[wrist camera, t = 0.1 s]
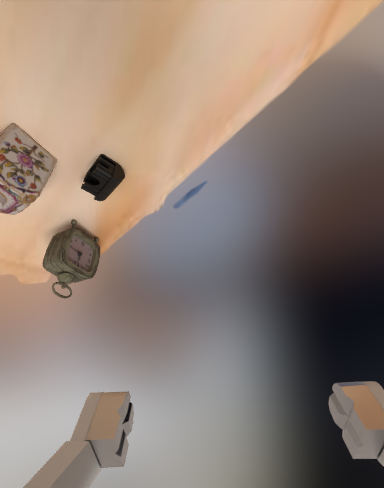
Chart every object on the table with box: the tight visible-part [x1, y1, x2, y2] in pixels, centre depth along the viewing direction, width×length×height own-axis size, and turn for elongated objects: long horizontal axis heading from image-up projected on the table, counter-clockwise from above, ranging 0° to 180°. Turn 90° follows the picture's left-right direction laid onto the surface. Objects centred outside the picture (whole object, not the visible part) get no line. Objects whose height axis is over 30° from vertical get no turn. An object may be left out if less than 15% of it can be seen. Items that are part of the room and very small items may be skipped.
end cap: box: [81, 154, 125, 201], centre depth 63 cm, size 10×7×7 cm
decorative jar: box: [0, 123, 57, 215], centre depth 54 cm, size 12×12×18 cm
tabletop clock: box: [43, 220, 100, 298], centre depth 77 cm, size 14×9×25 cm, turn 24°
